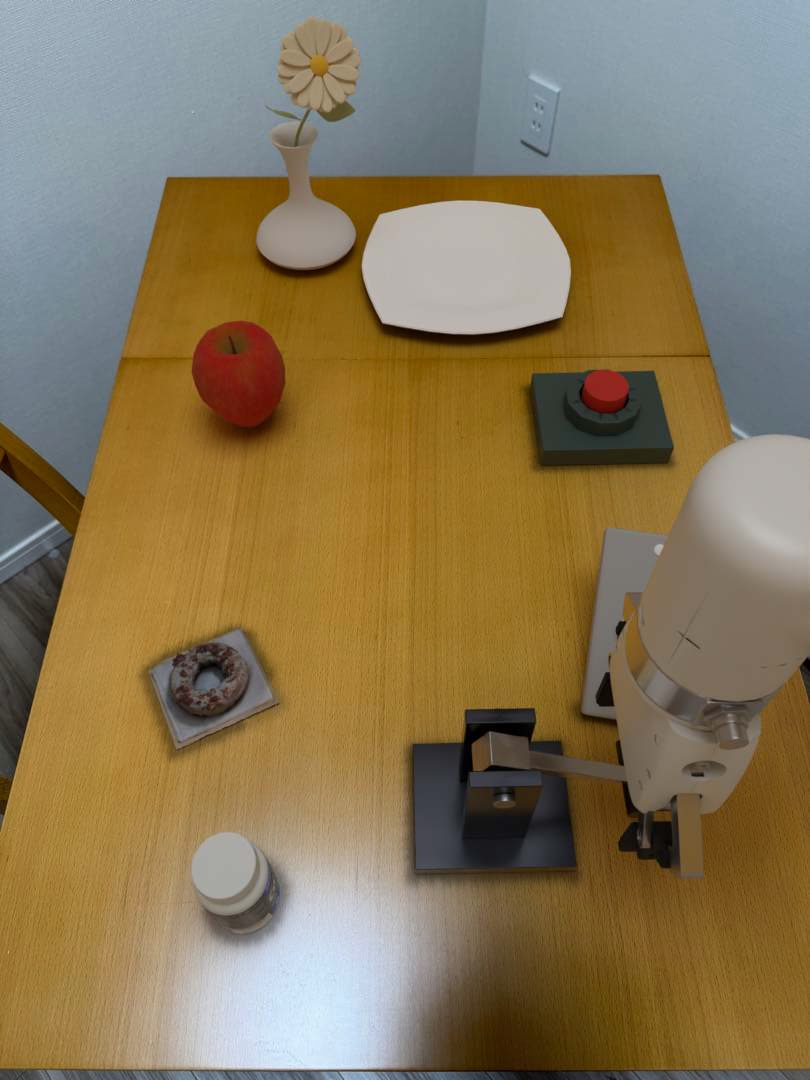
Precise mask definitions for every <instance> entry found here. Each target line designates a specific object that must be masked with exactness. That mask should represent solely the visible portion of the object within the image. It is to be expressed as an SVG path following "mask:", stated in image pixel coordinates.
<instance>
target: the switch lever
mask: <svg viewBox="0 0 810 1080" xmlns="http://www.w3.org/2000/svg"><path fill="white" fill-rule="evenodd" d="M614 745H615V750H616V755H617V756H616V758H617V763H618V764H616V763H608V762H602V761H597V760H590V759H584V758H578V757H571V756H564V755H563V756H559V755H553V754H547V753H541V752H535V751H529V744H528V737H523V736H517V735H511V734H505V733H499V732H493V731H489V732H487V733H486V734H485V735H483V736H482V737H481V738H479V739H478V740H477V741H475V742H474V743H473V744H472V759H473V771H519V770H542V775H549V776H555V777H562V778H566V779H568V780H576V781H582V782H588V783H596V784H601V785H602V784H603V785H609V786H616V787H622V793H623V799H624V800H623V801H624V807H625V811H626V816H627V817H628V818H629V819H638V809H637V808H636V807H635V806H634V804H633V802H632V799H631V796H630V792H629V788H628V782H627V777H626V772H625V766H624V760H623V755H622V749H621V743H620V739H618V740H616V741H615V743H614Z"/></svg>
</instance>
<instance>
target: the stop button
mask: <svg viewBox="0 0 810 1080" xmlns="http://www.w3.org/2000/svg"><path fill="white" fill-rule="evenodd" d="M597 370H598V371H595V372H593V373H591V374H589V375H588V376H587V378H586V380H585V383H584V388H583V392H582V400H583V402H584V404H585V405H586V406H587V407H588V408H589V409H590V410H593V411H595V412H598V413H601V414H610V413H615V412H617V411H619V410H620V409H621V408H622V407H623V406H624V404H625V400H626V397H627V393H628V389H629V386H628V382H627V381H626V379H625V378H624V377H623V376H622V375H620V374H619V373H617V372H618V371H614V370H611V369H608V370H607V369H597ZM610 370H611V371H610Z"/></svg>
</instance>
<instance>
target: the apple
mask: <svg viewBox="0 0 810 1080" xmlns="http://www.w3.org/2000/svg"><path fill="white" fill-rule="evenodd" d="M194 349H195V350H194V351H193V357H192V364H191V371H190V372H191V376H192V379H193V382H194V386H195V388H196V391H197V394H198V396H199V397H200V399H201V400H202V402H203V403H204V404H205V405H207V406H208V407H209V408H210V409H211V410H212V411H213V412H214V413H215V414H217V415H218V416H219V417H220V418H221V419H223V420H225V421H227V422H229V423H231V424H234V425H235V426H236V425H237V426H239V427H242V428H247V429H248V428H249V429H252V428H255V427H258V426H259V425H261V424H262V423H264V421H265V420H266V419H267V418H269V417H270V415H271V414H272V413H273V412H274V410H275V409H276V407H277V406H278V405H279V403H280V402H281V400H282V396H283V392H284V389H285V387H286V365H285V361H284V358H283V355H282V353H281V351H280V349H279V347H278V346H277V344H276V342H275V340H274V338H273V336H272V335H271V334H270V333H269V332H268V331H267V330H266V329H264V327H262V326H260V325H259V324H257V323H255V322H253V321H247V320H233V321H228V322H227V321H226V322H223V323H222V324H219V325H217V326H214V327H212V328H210V329H208V330H206V332H205V333H204V334H203V336H202V337H201V338H200V339H199V340H198V343H197V344H196V347H195V348H194Z"/></svg>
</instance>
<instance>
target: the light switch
mask: <svg viewBox="0 0 810 1080" xmlns="http://www.w3.org/2000/svg"><path fill="white" fill-rule="evenodd" d="M668 535H669V534H662V533H656V532H648V531H640V530H633V529H626V528H618V527H611V526H609V527H606V528H605V529H604V531H603V536H602V544H601V550H600V558H599V560H600V561H599V566H598V573H597V575H598V576H597V582H596V588H595V589H596V590H595V595H594V596H595V598H594V604H593V612H592V620H591V628H590V635H589V641H588V651H587V658H586V666H585V673H584V681H583V687H582V688H583V689H582V695H581V704H580V712H581V713H582V714H583V715H584V716H590V717H597V718H603V719H609V720H616V721H617V719H616V713H615V707H600V706H599V705H598V704H597V703H596V698H595V695H596V693H597V691H598V688H599V686H600V684H601V682H602V679H603V677H604V675H605V672H610V670H609V666H608V655H609V653H612V652H613V650H614V647H615V645H616V642H617V635H616V627H617V626H618V622H619V621H624V618H623V616H622V614H623V607H624V599H625V594H626V593H627V592H644V590H645V587H646V585H647V583H648V580H649V578H650V576H651V574H652V571H653V569H654V567H655V565H656V562H657V560H658V558H659V555H660V553H661V551H662V549H663V546H664V544H665V542H666V540H667V537H668Z"/></svg>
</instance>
